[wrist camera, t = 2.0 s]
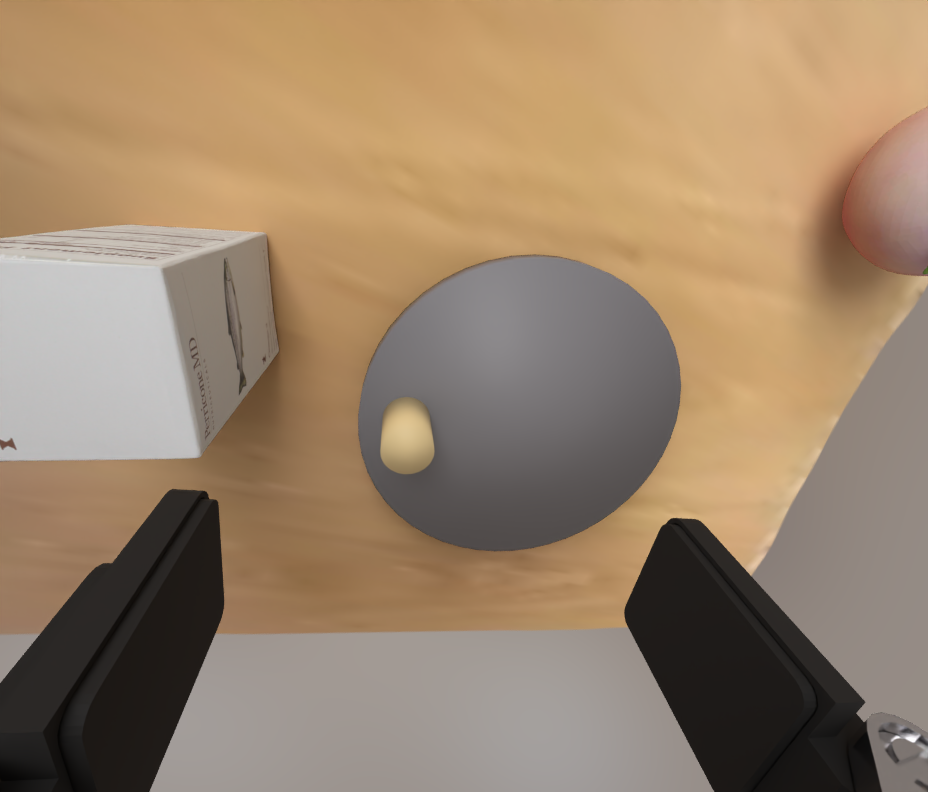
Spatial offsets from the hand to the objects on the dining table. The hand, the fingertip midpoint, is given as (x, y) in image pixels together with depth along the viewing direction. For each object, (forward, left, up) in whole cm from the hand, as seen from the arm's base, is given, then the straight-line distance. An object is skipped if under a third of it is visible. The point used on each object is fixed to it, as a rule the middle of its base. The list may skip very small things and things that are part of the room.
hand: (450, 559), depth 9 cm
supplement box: (0, -12, -21) cm, 24 cm away
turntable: (+6, +8, -20) cm, 22 cm away
